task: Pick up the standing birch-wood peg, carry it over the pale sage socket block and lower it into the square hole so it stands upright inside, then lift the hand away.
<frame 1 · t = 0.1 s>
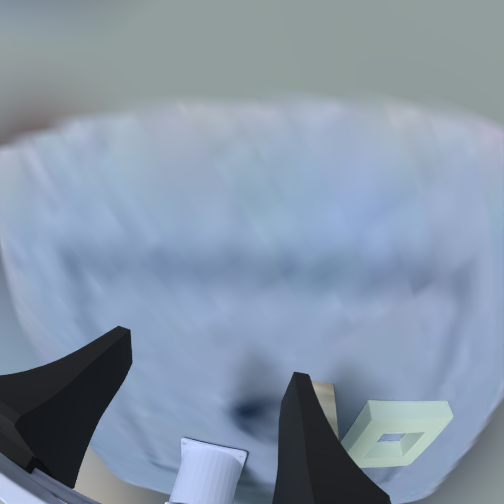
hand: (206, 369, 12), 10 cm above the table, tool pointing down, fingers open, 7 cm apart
peg: (308, 394, 25), on the table
socket block: (390, 429, 27), on the table
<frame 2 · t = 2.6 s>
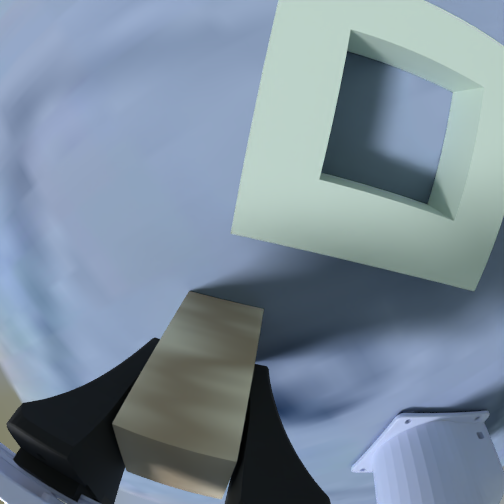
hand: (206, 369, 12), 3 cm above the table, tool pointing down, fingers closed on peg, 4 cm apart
peg: (220, 329, 15), on the table, touching gripper
socket block: (389, 126, 10), on the table
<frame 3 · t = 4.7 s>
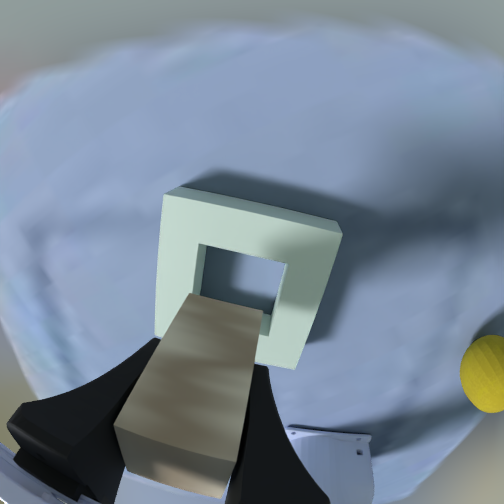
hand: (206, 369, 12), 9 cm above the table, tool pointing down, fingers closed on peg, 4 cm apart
lemon: (472, 342, 20), on the table
peg: (220, 331, 15), point 6 cm above the table, touching gripper
socket block: (241, 274, 20), on the table
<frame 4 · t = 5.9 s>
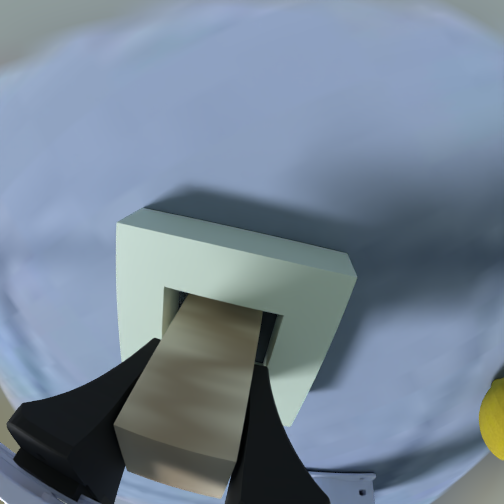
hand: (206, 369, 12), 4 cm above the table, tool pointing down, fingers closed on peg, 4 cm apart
lemon: (493, 379, 16), on the table
peg: (220, 331, 15), point 1 cm above the table, touching gripper
socket block: (225, 317, 16), on the table
when the fingers open (4 cm above the table, at t = 7.0 s): peg stays where it is, resting in socket block.
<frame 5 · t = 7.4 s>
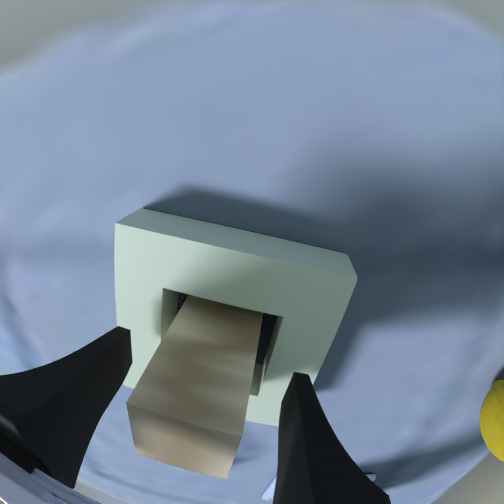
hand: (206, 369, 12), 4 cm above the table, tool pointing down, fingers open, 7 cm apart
lemon: (494, 380, 16), on the table
peg: (224, 320, 16), resting in socket block
socket block: (224, 319, 16), on the table
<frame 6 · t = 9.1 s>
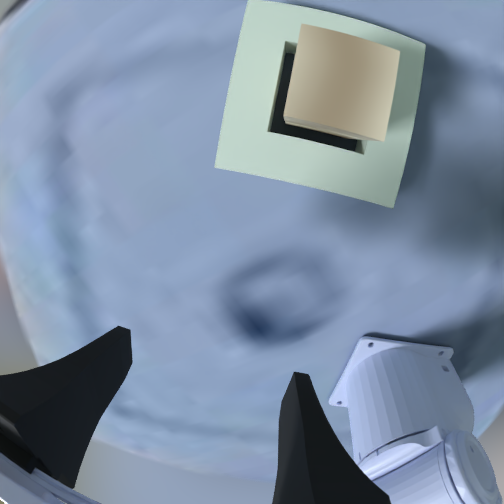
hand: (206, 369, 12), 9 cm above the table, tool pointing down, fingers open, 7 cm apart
peg: (321, 102, 16), resting in socket block
socket block: (321, 100, 16), on the table
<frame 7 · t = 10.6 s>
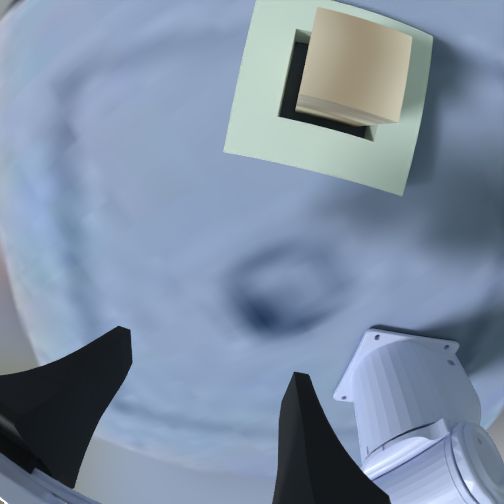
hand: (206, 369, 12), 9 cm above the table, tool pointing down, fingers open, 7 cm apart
peg: (330, 91, 16), resting in socket block
socket block: (330, 89, 16), on the table
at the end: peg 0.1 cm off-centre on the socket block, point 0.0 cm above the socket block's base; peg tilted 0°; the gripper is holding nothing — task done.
